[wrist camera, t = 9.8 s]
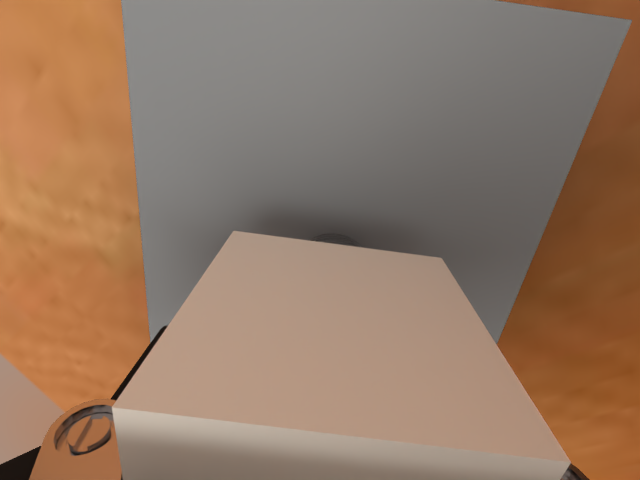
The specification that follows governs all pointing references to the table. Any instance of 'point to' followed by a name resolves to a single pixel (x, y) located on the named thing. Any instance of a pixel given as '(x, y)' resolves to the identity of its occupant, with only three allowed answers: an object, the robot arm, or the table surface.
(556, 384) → the table surface
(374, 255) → the matte white box
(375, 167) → the board
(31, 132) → the table surface
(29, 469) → the robot arm
